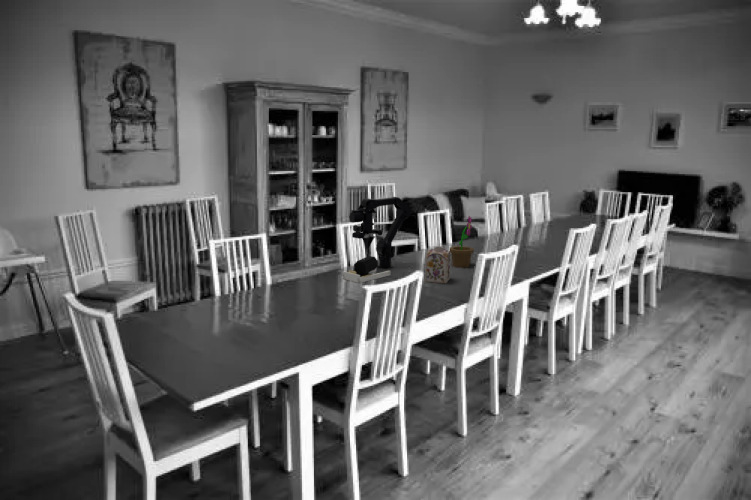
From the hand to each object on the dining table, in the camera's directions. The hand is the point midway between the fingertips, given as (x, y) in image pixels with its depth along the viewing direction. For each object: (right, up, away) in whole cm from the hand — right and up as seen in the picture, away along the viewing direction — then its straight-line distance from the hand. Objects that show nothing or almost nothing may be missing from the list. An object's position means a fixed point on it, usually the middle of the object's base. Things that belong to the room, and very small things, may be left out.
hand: (367, 248), depth 327 cm
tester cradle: (0, -15, -14) cm, 21 cm away
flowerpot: (+55, -10, +16) cm, 58 cm away
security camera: (-1, -16, -16) cm, 22 cm away
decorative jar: (+38, -17, -19) cm, 45 cm away
